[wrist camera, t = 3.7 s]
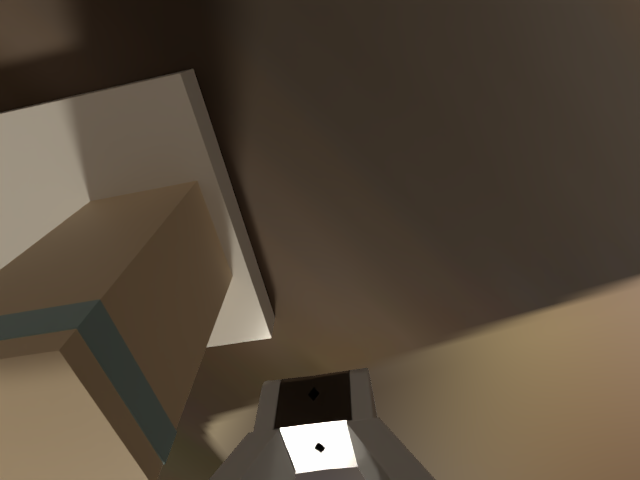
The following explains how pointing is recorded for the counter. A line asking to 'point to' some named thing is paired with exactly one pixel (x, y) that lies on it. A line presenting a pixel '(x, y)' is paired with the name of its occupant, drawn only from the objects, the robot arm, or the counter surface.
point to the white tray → (127, 176)
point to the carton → (107, 336)
